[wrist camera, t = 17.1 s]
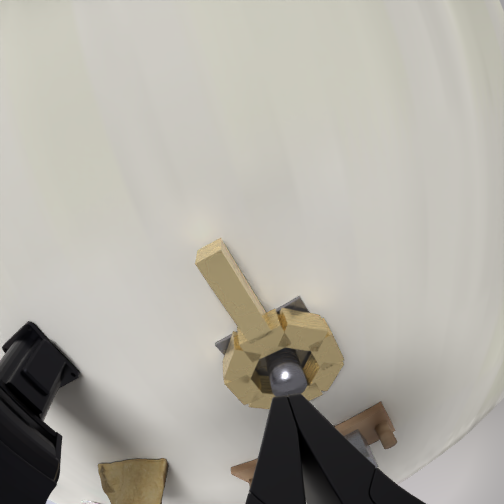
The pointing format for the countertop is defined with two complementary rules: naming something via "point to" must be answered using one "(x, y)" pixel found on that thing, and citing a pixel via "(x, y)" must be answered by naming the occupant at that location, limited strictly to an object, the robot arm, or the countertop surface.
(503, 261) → the countertop surface
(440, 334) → the countertop surface
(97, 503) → the teacup and saucer
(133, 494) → the rock
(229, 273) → the gold flat handled piece
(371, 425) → the peg rack
